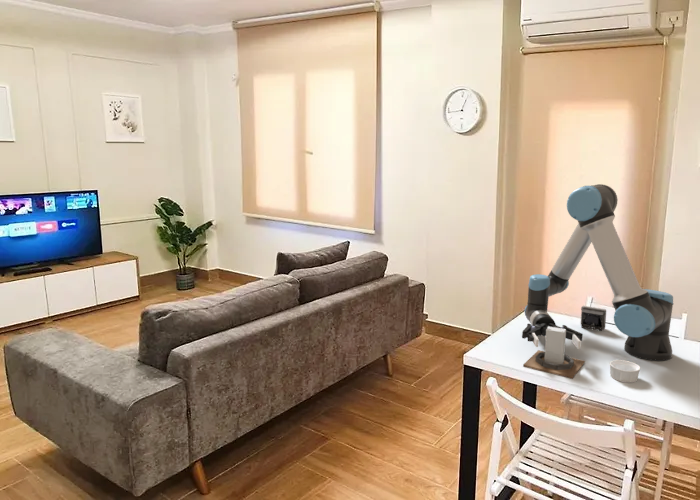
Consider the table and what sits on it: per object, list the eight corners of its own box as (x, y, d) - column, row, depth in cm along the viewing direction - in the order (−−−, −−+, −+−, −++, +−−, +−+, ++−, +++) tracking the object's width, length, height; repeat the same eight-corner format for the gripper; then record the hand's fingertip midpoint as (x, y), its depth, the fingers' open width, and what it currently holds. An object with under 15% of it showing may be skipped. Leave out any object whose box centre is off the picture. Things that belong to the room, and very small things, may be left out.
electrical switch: (605, 329, 219) (607, 307, 216) (603, 333, 215) (605, 312, 212) (580, 324, 224) (582, 304, 221) (578, 329, 220) (579, 308, 217)
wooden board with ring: (584, 362, 186) (585, 356, 185) (572, 378, 173) (573, 372, 173) (538, 351, 195) (538, 346, 195) (523, 366, 182) (523, 360, 182)
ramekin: (625, 385, 168) (626, 372, 168) (602, 374, 176) (603, 362, 176) (645, 381, 172) (646, 368, 171) (621, 370, 180) (622, 358, 179)
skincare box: (564, 362, 184) (567, 328, 182) (562, 366, 181) (565, 332, 178) (545, 358, 187) (548, 325, 185) (543, 363, 184) (546, 329, 181)
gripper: (576, 334, 200) (595, 356, 180) (507, 331, 203) (519, 353, 182) (578, 314, 199) (598, 335, 178) (509, 312, 201) (520, 331, 181)
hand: (558, 344), depth 180 cm, fingers open, 13 cm apart
